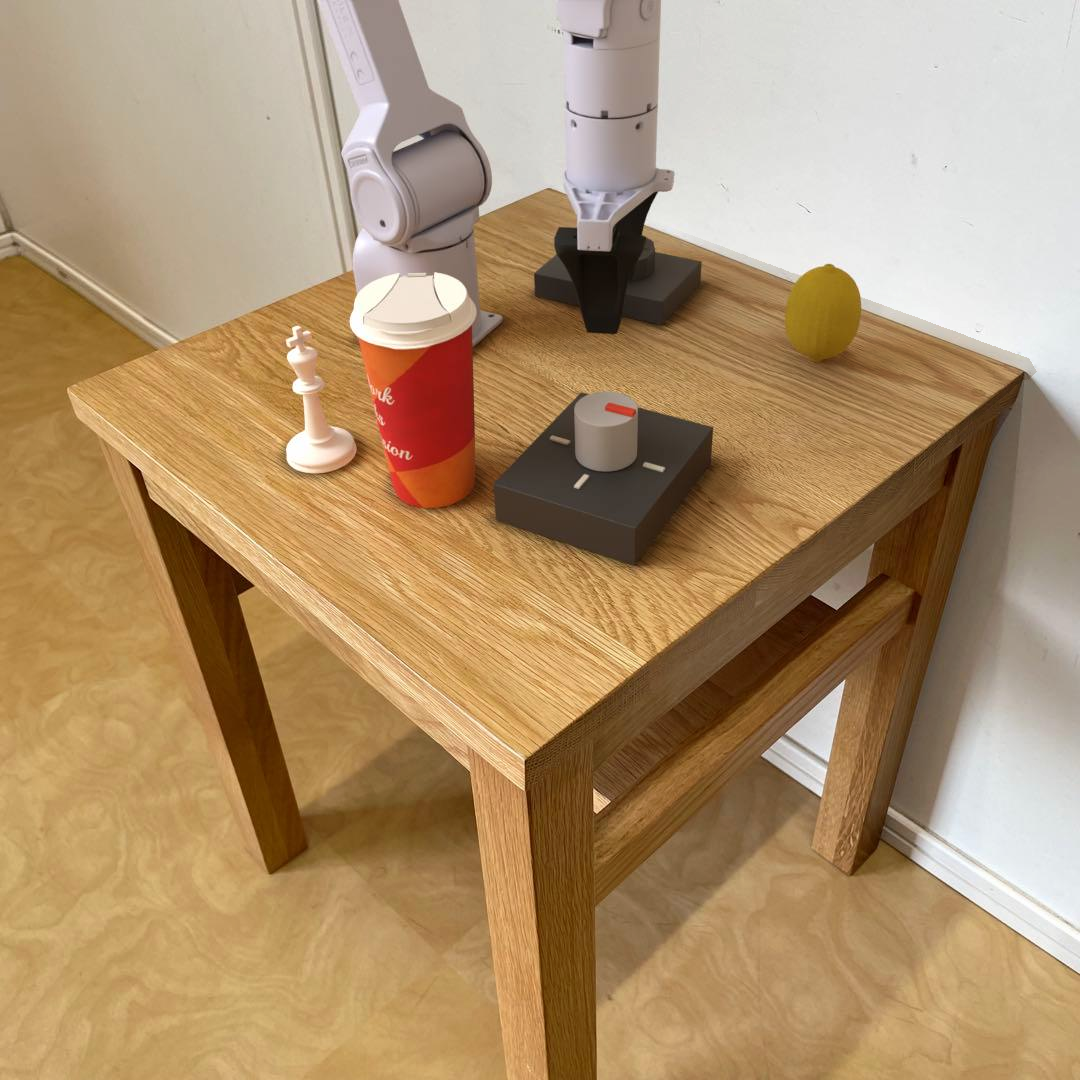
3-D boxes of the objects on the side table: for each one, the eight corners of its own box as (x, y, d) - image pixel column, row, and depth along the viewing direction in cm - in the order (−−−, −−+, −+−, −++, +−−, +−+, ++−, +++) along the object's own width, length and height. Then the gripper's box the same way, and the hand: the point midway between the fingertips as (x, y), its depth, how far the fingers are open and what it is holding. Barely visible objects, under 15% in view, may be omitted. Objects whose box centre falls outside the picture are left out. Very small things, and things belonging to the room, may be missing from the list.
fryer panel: (495, 520, 72) (492, 481, 70) (581, 427, 80) (581, 389, 78) (634, 566, 68) (635, 526, 66) (711, 463, 76) (713, 424, 74)
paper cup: (386, 451, 79) (357, 268, 70) (494, 449, 78) (479, 265, 69) (369, 520, 73) (335, 330, 64) (486, 519, 72) (469, 327, 63)
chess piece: (273, 453, 79) (244, 328, 73) (331, 425, 81) (307, 302, 75) (312, 482, 76) (285, 355, 70) (370, 452, 79) (349, 326, 72)
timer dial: (564, 462, 72) (563, 412, 69) (591, 430, 74) (591, 381, 72) (621, 478, 70) (621, 428, 68) (646, 445, 73) (648, 395, 70)
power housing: (534, 296, 96) (532, 253, 93) (578, 258, 101) (577, 216, 98) (662, 325, 91) (663, 280, 88) (700, 284, 96) (703, 241, 94)
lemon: (853, 382, 83) (869, 284, 78) (778, 377, 84) (789, 280, 79) (852, 345, 87) (868, 250, 82) (780, 340, 88) (791, 246, 83)
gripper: (664, 149, 62) (656, 361, 71) (687, 67, 73) (678, 259, 82) (540, 145, 63) (547, 354, 72) (580, 65, 74) (583, 255, 83)
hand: (610, 303), depth 77 cm, fingers open, 7 cm apart
